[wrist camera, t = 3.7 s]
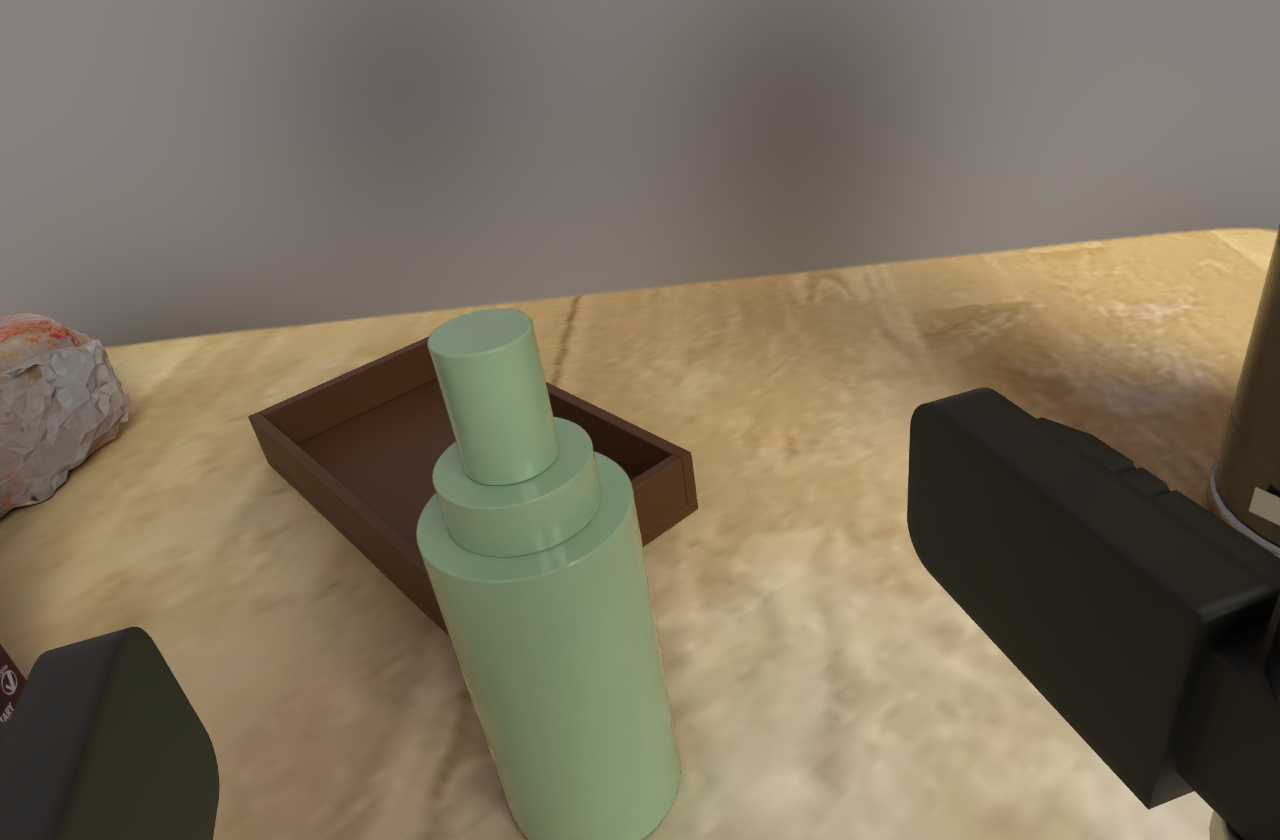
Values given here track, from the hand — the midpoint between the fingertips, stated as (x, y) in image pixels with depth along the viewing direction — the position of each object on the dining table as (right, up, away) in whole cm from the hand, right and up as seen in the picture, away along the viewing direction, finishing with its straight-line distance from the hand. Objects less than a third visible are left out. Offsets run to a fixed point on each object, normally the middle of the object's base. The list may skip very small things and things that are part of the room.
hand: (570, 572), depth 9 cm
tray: (-8, -2, +34) cm, 35 cm away
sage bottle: (-1, -10, +19) cm, 21 cm away
